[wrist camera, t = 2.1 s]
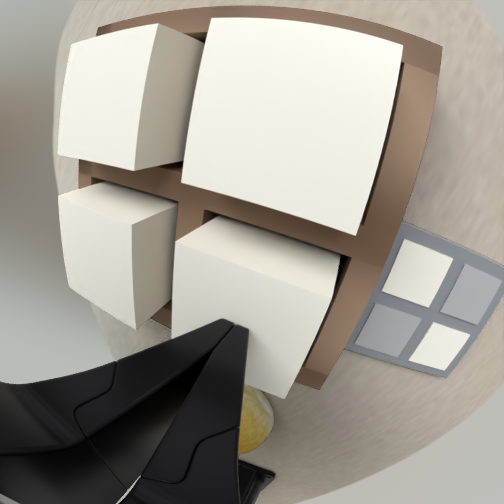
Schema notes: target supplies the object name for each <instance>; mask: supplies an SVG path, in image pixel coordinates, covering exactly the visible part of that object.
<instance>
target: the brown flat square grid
mask: <svg viewBox="0 0 504 504" xmlns="http://www.w3.org/2000/svg"><path fill="white" fill-rule="evenodd" d="M211 18H267V19H280V20H291V21H299V22H307V23H314V24H320V25H326V26H332V27H337V28H342V29H346V30H351V31H355V32H359V33H363V34H367V35H371V36H375V37H378V38H382V39H385V40H388V41H391V42H395V43H398V44H401V45H403V50H402V57H401V63H400V69H399V75H398V81H397V86H396V91H395V96H394V101H393V106H392V110H391V115H390V119H389V124H388V128H387V132H386V136H385V140H384V144H383V148H382V152H381V155H380V159H379V163H378V166H377V170H376V173H375V177H374V180H373V184H372V187H371V190H370V194H369V197H368V200H367V203H366V206H365V210H364V213H363V216H362V219H361V222H360V225H359V228H358V231H357V234H356V236H355V235H352V234H349V233H346V232H343V231H340V230H337V229H334V228H331V227H328V226H325V225H322V224H319V223H316V222H313V221H310V220H307V219H304V218H301V217H298V216H295V215H292V214H288V213H285V212H282V211H279V210H275V209H272V208H269V207H266V206H262V205H259V204H256V203H252V202H249V201H245V200H242V199H239V198H235V197H232V196H228V195H225V194H221V193H217V192H214V191H210V190H207V189H203V188H199V187H196V186H192V185H188V184H184V183H181V179H182V171H183V163H184V161H179V162H174V163H169V164H164V165H159V166H154V167H150V168H145V169H141V170H136V171H132V170H128V169H123V168H119V167H115V166H110V165H106V164H101V163H96V162H92V161H87V160H82V159H79V189H81V188H84V187H87V186H91V185H94V184H98V183H101V182H105V181H110V182H113V183H117V184H121V185H124V186H128V187H131V188H135V189H138V190H142V191H145V192H149V193H152V194H155V195H159V196H162V197H166V198H169V199H172V200H176V201H179V204H178V214H177V225H176V237H175V241H177V240H179V239H180V238H182V237H184V236H185V235H187V234H189V233H190V232H192V231H194V230H195V229H197V228H199V227H200V226H202V225H204V224H205V223H207V222H209V221H211V220H212V219H214V218H216V217H217V216H219V215H221V214H222V215H225V216H228V217H231V218H234V219H237V220H241V221H244V222H247V223H250V224H253V225H256V226H259V227H263V228H266V229H269V230H272V231H275V232H278V233H281V234H284V235H287V236H290V237H293V238H296V239H299V240H302V241H305V242H308V243H311V244H314V245H317V246H320V247H323V248H326V249H329V250H332V251H334V252H337V253H340V254H343V255H345V258H344V261H343V263H342V266H341V269H340V271H339V274H338V277H337V279H336V282H335V286H334V291H333V296H332V299H331V302H330V304H329V307H328V309H327V311H326V314H325V316H324V318H323V321H322V323H321V325H320V327H319V330H318V332H317V334H316V336H315V339H314V341H313V343H312V345H311V347H310V349H309V351H308V354H307V356H306V358H305V360H304V362H303V364H302V366H301V368H300V370H299V372H298V374H297V376H296V378H295V380H294V382H297V383H300V384H303V385H306V386H309V387H312V388H315V389H318V390H320V388H321V386H322V385H323V383H324V382H325V380H326V378H327V377H328V375H329V373H330V372H331V370H332V368H333V367H334V365H335V363H336V361H337V360H338V358H339V356H340V354H341V353H342V351H343V349H344V347H345V345H346V344H347V342H348V340H349V338H350V336H351V334H352V332H353V330H354V329H355V327H356V325H357V323H358V321H359V319H360V317H361V315H362V313H363V311H364V309H365V307H366V305H367V303H368V301H369V298H370V296H371V294H372V292H373V290H374V288H375V285H376V283H377V281H378V279H379V277H380V274H381V272H382V270H383V267H384V265H385V263H386V260H387V258H388V255H389V253H390V251H391V248H392V246H393V243H394V240H395V238H396V235H397V233H398V230H399V227H400V225H401V222H402V219H403V216H404V213H405V211H406V208H407V205H408V202H409V199H410V196H411V193H412V189H413V186H414V183H415V180H416V176H417V173H418V170H419V166H420V163H421V159H422V155H423V152H424V148H425V144H426V140H427V136H428V131H429V127H430V122H431V118H432V113H433V108H434V103H435V97H436V92H437V86H438V79H439V73H440V65H441V57H442V46H440V45H437V44H435V43H433V42H430V41H428V40H425V39H423V38H420V37H417V36H415V35H412V34H409V33H406V32H403V31H400V30H397V29H394V28H391V27H388V26H384V25H381V24H377V23H373V22H370V21H366V20H362V19H357V18H353V17H348V16H343V15H338V14H333V13H327V12H321V11H314V10H306V9H298V8H287V7H273V6H216V7H202V8H191V9H183V10H175V11H168V12H162V13H156V14H151V15H146V16H141V17H136V18H132V19H128V20H123V21H120V22H116V23H112V24H109V25H105V26H102V27H98V30H97V34H96V37H97V36H100V35H104V34H108V33H112V32H116V31H120V30H125V29H129V28H134V27H139V26H145V25H150V24H157V23H159V24H162V25H164V26H167V27H169V28H172V29H174V30H176V31H179V32H181V33H183V34H185V35H188V36H190V37H192V38H194V39H196V40H199V41H201V42H203V43H205V42H206V38H207V34H208V30H209V26H210V22H211ZM204 46H205V45H204ZM203 51H204V49H203ZM202 55H203V54H202ZM201 60H202V58H201ZM200 64H201V63H200ZM199 69H200V67H199ZM198 74H199V72H198ZM197 79H198V77H197ZM196 84H197V82H196ZM195 89H196V87H195ZM194 94H195V92H194ZM193 100H194V98H193ZM192 105H193V103H192ZM191 111H192V109H191ZM190 117H191V115H190ZM189 123H190V121H189ZM188 129H189V127H188ZM187 135H188V133H187ZM186 142H187V140H186ZM185 149H186V147H185ZM184 156H185V154H184ZM174 255H175V251H174ZM173 271H174V267H173ZM172 293H173V287H172ZM150 318H151V319H153V320H155V321H157V322H159V323H161V324H163V325H165V326H167V327H169V328H170V329H172V299H171V300H170V301H168V302H167V303H166V304H165V305H164V306H163V307H162V308H160V309H159V310H158V311H157V312H156V313H155V314H154V315H153V316H151V317H150Z"/></svg>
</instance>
